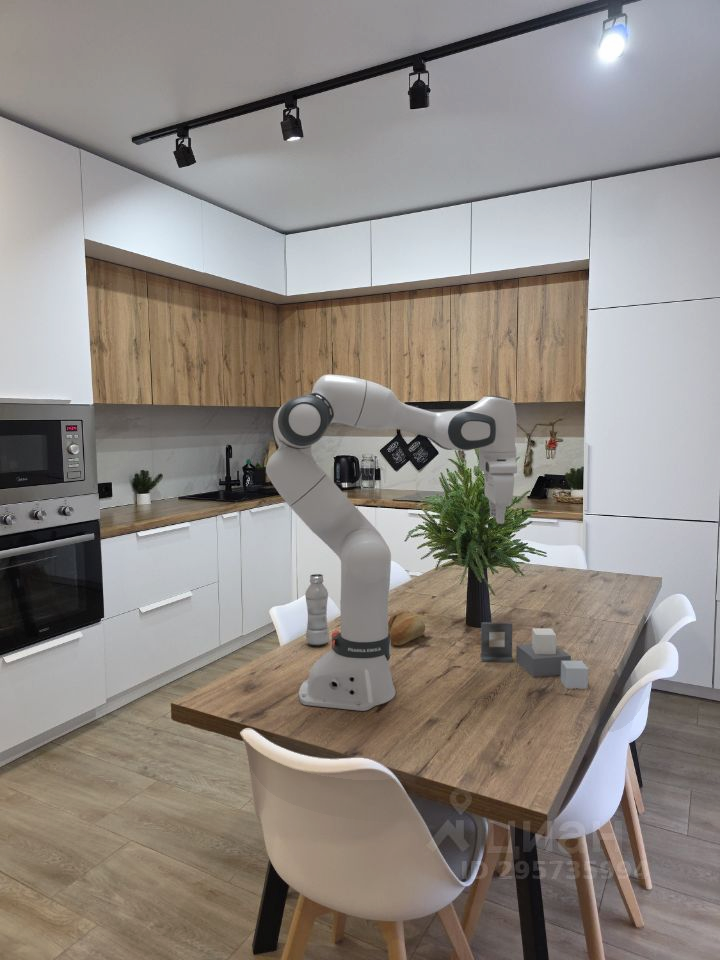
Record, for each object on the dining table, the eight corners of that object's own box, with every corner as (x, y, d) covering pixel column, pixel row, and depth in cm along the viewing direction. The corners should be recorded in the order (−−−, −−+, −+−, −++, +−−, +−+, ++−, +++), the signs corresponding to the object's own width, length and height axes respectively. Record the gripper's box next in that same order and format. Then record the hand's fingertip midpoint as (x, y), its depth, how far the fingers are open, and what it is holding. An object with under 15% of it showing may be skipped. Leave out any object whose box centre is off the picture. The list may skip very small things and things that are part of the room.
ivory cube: (535, 654, 165) (535, 634, 164) (531, 647, 170) (532, 628, 169) (555, 654, 164) (556, 635, 164) (551, 647, 169) (551, 628, 169)
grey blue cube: (566, 688, 155) (566, 668, 154) (560, 680, 160) (561, 660, 159) (587, 689, 155) (588, 668, 154) (581, 680, 160) (581, 660, 159)
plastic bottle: (334, 643, 187) (333, 575, 185) (316, 650, 182) (315, 579, 180) (318, 638, 191) (317, 571, 189) (301, 644, 186) (300, 575, 184)
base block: (532, 678, 162) (533, 658, 161) (516, 663, 172) (516, 645, 171) (570, 675, 164) (570, 655, 163) (551, 660, 173) (552, 642, 173)
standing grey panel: (482, 661, 172) (482, 625, 171) (480, 656, 176) (480, 620, 175) (512, 661, 172) (513, 625, 171) (510, 656, 176) (510, 620, 175)
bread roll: (377, 645, 186) (377, 617, 185) (402, 630, 198) (402, 604, 198) (407, 651, 181) (407, 623, 180) (431, 635, 193) (431, 609, 193)
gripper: (478, 460, 169) (478, 513, 170) (490, 466, 148) (489, 527, 150) (503, 460, 168) (503, 513, 170) (518, 466, 148) (517, 526, 149)
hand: (497, 520), depth 159 cm, fingers open, 8 cm apart
